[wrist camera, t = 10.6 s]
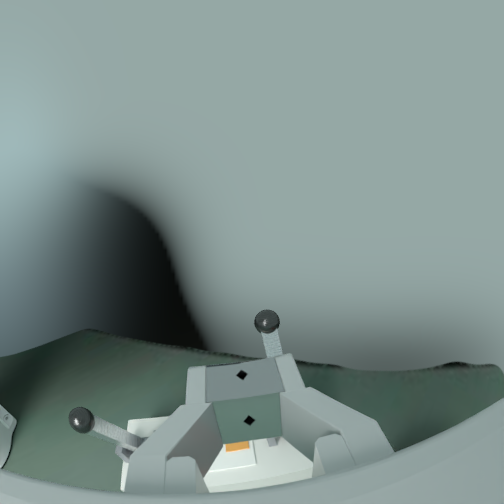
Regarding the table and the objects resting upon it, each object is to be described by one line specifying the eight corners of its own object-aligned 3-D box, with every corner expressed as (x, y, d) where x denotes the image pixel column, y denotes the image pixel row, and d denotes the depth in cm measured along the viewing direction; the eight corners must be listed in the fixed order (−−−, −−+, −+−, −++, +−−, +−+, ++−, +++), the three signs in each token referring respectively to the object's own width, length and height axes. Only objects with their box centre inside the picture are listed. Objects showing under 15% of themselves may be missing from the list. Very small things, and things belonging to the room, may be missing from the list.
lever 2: (278, 440, 27) (248, 317, 26) (276, 428, 29) (246, 311, 28) (308, 433, 27) (283, 309, 26) (304, 421, 29) (279, 303, 28)
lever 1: (134, 456, 27) (59, 429, 18) (132, 439, 29) (60, 403, 19) (158, 455, 27) (89, 429, 18) (156, 437, 29) (89, 402, 19)
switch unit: (137, 501, 25) (108, 480, 22) (142, 436, 34) (119, 408, 31) (332, 474, 26) (333, 451, 23) (309, 407, 35) (306, 375, 32)
